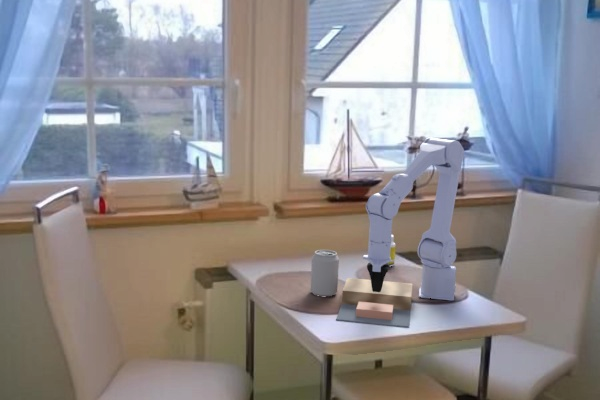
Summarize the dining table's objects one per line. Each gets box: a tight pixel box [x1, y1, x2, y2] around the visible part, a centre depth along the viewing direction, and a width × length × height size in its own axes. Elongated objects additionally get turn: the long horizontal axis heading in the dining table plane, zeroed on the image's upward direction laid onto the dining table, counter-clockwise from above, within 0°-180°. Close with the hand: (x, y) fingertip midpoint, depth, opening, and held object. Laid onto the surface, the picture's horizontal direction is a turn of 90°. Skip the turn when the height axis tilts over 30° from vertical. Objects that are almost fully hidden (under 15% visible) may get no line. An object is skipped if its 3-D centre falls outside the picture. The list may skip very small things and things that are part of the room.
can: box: [309, 249, 340, 297], centre depth 200 cm, size 8×8×12 cm
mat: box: [335, 303, 411, 328], centre depth 185 cm, size 18×12×1 cm, turn 80°
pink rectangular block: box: [356, 302, 393, 320], centre depth 185 cm, size 9×6×2 cm, turn 80°
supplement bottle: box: [388, 234, 396, 268], centre depth 232 cm, size 5×5×10 cm
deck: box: [341, 277, 413, 311], centre depth 197 cm, size 18×12×4 cm, turn 80°
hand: (376, 291), depth 189 cm, fingers closed
